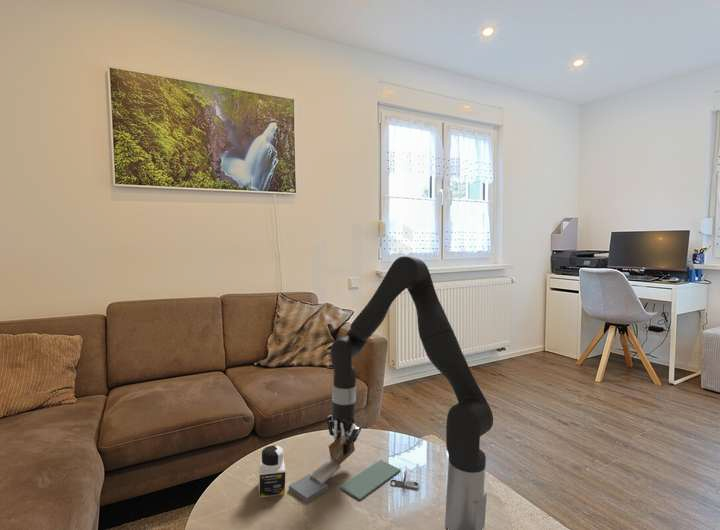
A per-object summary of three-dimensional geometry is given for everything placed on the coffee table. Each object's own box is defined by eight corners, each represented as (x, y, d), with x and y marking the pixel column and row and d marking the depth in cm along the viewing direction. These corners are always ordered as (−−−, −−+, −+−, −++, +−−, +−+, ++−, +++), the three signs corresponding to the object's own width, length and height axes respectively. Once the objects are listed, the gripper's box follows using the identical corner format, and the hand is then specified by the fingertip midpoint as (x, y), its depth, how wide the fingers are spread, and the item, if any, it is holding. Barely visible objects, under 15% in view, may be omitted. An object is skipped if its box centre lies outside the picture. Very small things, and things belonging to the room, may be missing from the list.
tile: (327, 485, 115) (307, 497, 109) (327, 491, 115) (307, 503, 109) (309, 473, 120) (288, 485, 114) (309, 479, 120) (288, 491, 114)
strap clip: (418, 485, 120) (419, 471, 119) (418, 491, 117) (419, 477, 116) (391, 481, 121) (391, 467, 121) (390, 487, 118) (390, 473, 118)
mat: (400, 471, 126) (400, 469, 126) (359, 500, 111) (360, 498, 111) (380, 461, 131) (380, 459, 131) (339, 488, 116) (339, 486, 116)
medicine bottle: (259, 498, 110) (260, 456, 109) (258, 483, 117) (259, 443, 116) (284, 495, 112) (286, 454, 111) (282, 480, 119) (284, 441, 118)
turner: (357, 451, 127) (354, 435, 125) (322, 484, 115) (319, 467, 114) (345, 446, 130) (343, 430, 128) (310, 477, 118) (307, 460, 117)
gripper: (368, 402, 122) (366, 456, 123) (336, 389, 131) (334, 440, 132) (352, 409, 116) (350, 465, 117) (319, 395, 125) (318, 448, 126)
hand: (341, 451), depth 125 cm, fingers closed on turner, 3 cm apart
